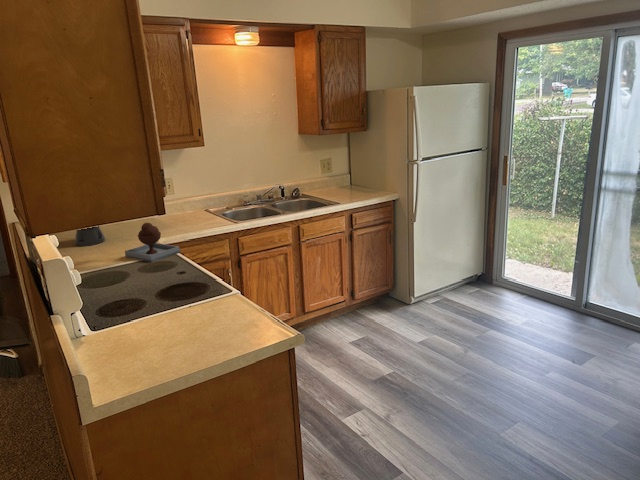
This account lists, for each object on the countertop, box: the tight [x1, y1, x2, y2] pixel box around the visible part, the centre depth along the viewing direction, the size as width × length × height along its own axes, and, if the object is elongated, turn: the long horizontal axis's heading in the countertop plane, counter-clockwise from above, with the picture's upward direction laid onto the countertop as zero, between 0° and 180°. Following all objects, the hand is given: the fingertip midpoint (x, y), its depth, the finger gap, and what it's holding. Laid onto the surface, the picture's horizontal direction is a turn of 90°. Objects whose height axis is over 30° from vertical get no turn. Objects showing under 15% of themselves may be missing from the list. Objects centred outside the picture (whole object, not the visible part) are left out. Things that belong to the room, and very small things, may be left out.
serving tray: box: [124, 242, 181, 263], centre depth 236 cm, size 20×17×3 cm
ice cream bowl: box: [137, 222, 162, 254], centre depth 235 cm, size 11×11×15 cm
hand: (146, 215), depth 232 cm, fingers open, 13 cm apart
